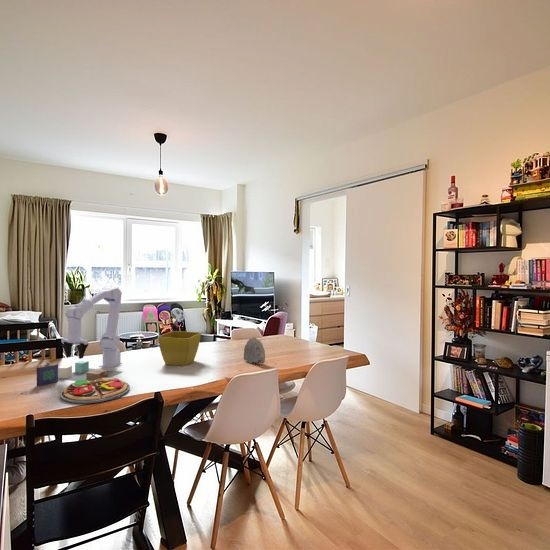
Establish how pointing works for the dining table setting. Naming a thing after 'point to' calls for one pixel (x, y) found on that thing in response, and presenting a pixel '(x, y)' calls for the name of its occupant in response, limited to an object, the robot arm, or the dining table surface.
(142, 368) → the dining table surface
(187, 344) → the flower pot
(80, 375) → the mat
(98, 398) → the toy pizza
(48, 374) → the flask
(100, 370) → the walnut base
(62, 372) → the cream block
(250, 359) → the decorative rock
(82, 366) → the teal block
